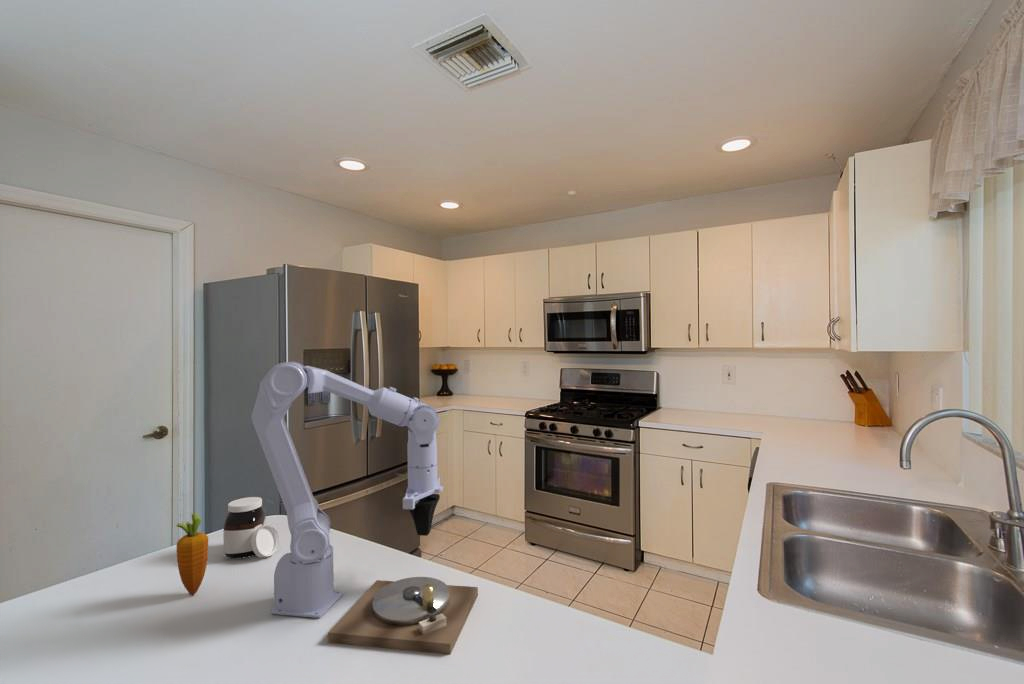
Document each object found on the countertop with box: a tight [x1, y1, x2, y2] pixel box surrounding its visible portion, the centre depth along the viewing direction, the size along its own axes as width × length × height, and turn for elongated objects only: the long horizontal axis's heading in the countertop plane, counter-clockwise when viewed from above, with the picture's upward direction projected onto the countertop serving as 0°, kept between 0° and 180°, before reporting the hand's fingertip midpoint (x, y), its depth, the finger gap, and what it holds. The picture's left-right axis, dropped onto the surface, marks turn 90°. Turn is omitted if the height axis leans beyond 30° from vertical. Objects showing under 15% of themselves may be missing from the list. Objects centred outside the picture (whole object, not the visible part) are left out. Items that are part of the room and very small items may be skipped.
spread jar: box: [222, 496, 280, 559], centre depth 105 cm, size 12×11×12 cm
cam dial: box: [373, 576, 449, 625], centre depth 79 cm, size 14×13×5 cm
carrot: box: [176, 512, 209, 596], centre depth 87 cm, size 5×5×15 cm
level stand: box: [327, 579, 479, 655], centre depth 78 cm, size 20×16×3 cm
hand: (423, 534), depth 90 cm, fingers closed
